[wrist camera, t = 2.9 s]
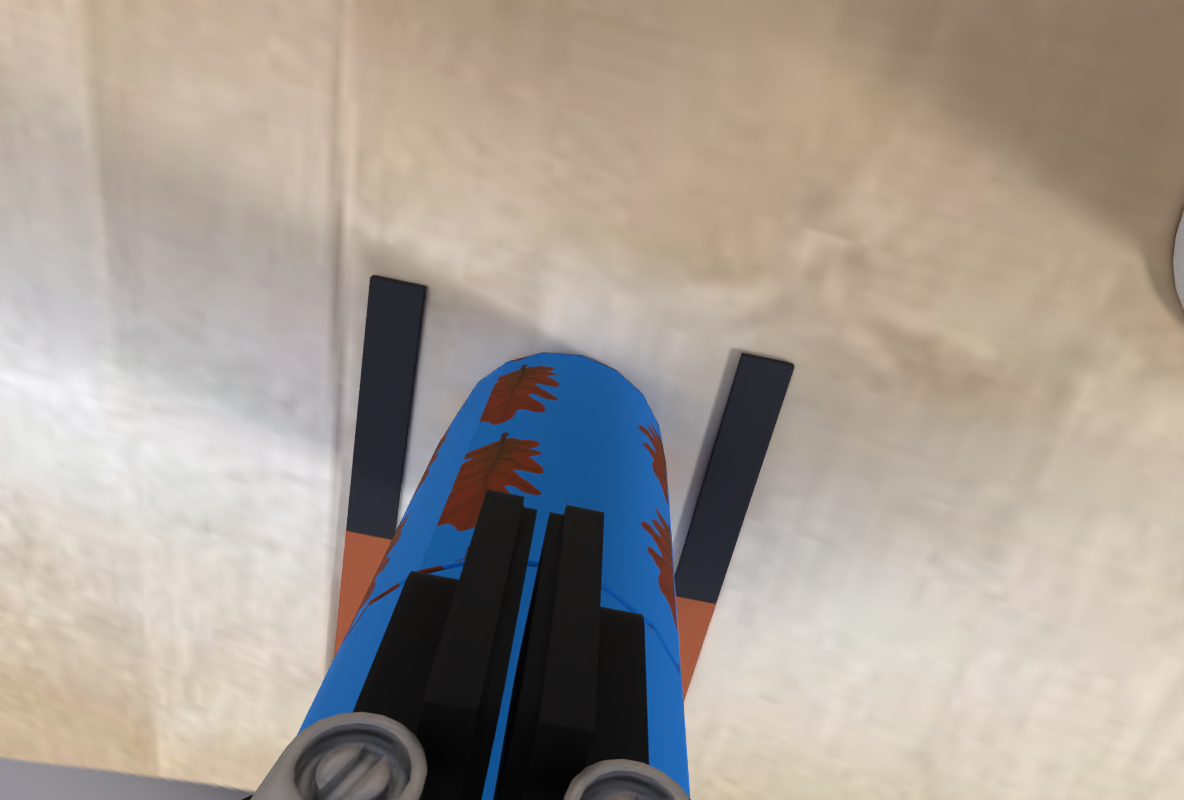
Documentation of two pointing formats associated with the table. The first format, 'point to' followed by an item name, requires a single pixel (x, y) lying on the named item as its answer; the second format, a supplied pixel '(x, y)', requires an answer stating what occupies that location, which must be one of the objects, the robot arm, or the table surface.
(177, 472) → the table surface
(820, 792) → the table surface
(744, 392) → the lane
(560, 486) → the thermos
